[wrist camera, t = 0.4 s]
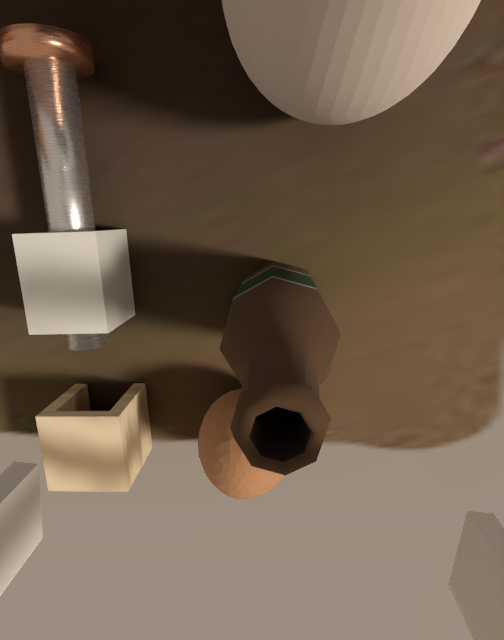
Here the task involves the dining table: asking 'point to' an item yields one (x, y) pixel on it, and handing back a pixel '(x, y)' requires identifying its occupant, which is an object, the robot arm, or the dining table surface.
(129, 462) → the socket
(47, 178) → the bolt
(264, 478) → the egg
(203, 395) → the dining table surface
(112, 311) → the sleeve
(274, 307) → the beer bottle
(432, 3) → the vase
